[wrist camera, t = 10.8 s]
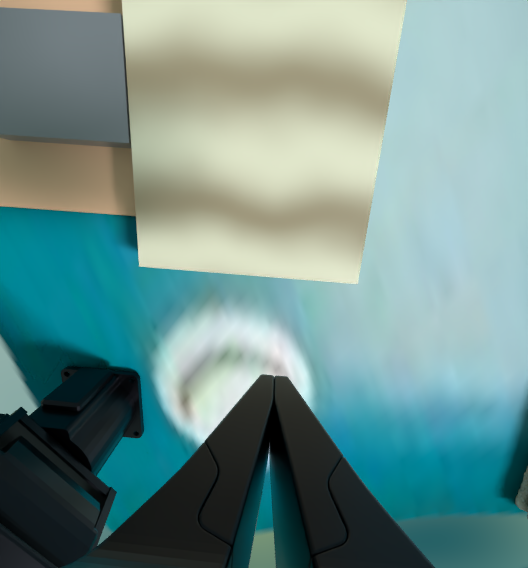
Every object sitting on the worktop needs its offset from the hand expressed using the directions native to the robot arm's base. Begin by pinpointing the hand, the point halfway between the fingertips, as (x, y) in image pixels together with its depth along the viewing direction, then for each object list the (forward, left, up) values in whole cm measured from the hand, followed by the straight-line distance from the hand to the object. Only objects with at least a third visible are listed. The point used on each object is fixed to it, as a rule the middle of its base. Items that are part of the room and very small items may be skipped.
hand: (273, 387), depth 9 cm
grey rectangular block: (+11, +14, -12) cm, 21 cm away
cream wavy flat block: (+11, +2, -12) cm, 16 cm away
